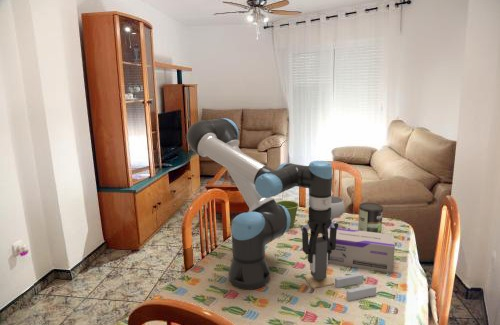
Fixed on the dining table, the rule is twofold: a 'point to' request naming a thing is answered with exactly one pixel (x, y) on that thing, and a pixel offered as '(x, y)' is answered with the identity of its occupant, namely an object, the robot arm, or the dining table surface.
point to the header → (356, 292)
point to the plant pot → (290, 209)
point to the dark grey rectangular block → (320, 259)
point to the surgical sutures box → (363, 250)
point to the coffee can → (370, 217)
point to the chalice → (337, 207)
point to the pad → (318, 281)
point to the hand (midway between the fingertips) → (318, 269)
